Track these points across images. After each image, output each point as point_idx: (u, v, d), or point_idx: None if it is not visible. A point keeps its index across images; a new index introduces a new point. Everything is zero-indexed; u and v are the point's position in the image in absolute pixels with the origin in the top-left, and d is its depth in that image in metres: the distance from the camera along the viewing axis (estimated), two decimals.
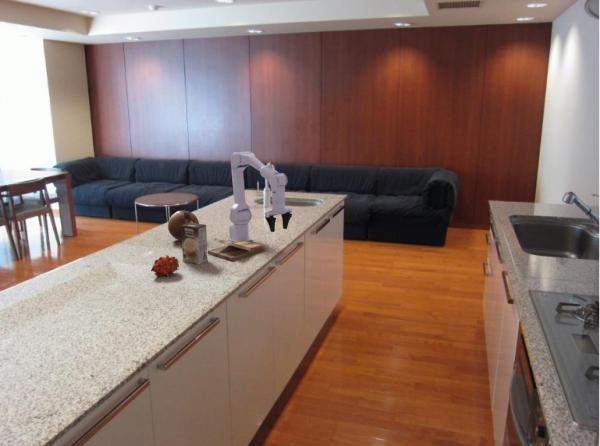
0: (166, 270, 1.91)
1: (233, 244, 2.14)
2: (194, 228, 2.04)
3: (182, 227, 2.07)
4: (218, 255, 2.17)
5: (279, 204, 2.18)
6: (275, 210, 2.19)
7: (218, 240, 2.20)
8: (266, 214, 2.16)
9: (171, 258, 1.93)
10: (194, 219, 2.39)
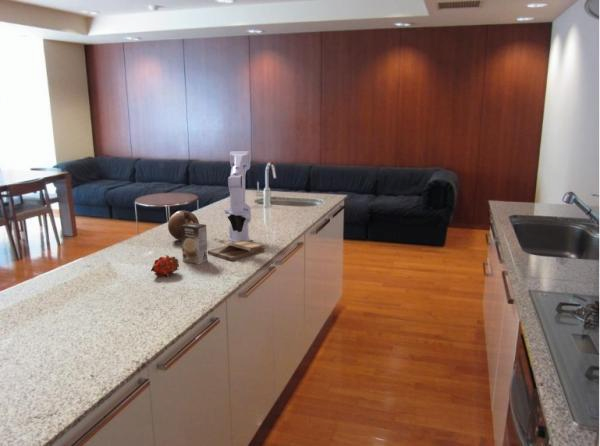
0: (166, 270, 1.91)
1: (233, 244, 2.14)
2: (194, 228, 2.04)
3: (182, 227, 2.07)
4: (218, 255, 2.17)
5: (230, 204, 2.20)
6: None
7: (218, 240, 2.20)
8: None
9: (171, 258, 1.93)
10: (194, 219, 2.39)
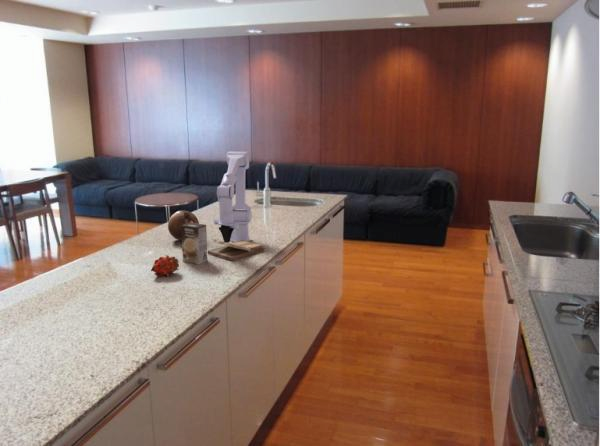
0: (166, 270, 1.91)
1: (233, 245, 2.14)
2: (194, 228, 2.04)
3: (182, 227, 2.07)
4: (218, 255, 2.17)
5: None
6: None
7: (218, 241, 2.20)
8: None
9: (171, 258, 1.93)
10: (194, 219, 2.39)
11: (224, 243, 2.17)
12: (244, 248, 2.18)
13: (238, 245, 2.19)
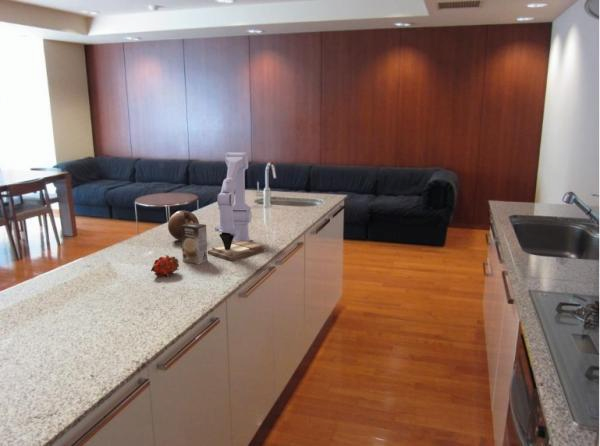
0: (166, 270, 1.91)
1: (231, 254, 2.14)
2: (194, 228, 2.04)
3: (182, 227, 2.07)
4: (218, 255, 2.17)
5: (220, 222, 2.16)
6: None
7: (216, 250, 2.20)
8: None
9: (171, 258, 1.93)
10: (194, 219, 2.39)
11: (223, 251, 2.17)
12: (243, 251, 2.18)
13: (237, 249, 2.18)
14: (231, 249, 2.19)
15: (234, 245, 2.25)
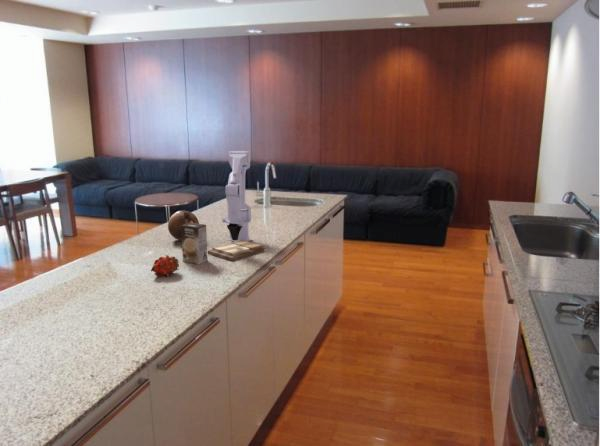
0: (166, 270, 1.91)
1: (231, 254, 2.14)
2: (194, 228, 2.04)
3: (182, 227, 2.07)
4: (218, 255, 2.17)
5: None
6: None
7: (216, 250, 2.20)
8: None
9: (171, 258, 1.93)
10: (194, 219, 2.39)
11: (223, 251, 2.17)
12: (243, 251, 2.18)
13: (237, 249, 2.18)
14: (231, 249, 2.19)
15: (234, 245, 2.25)
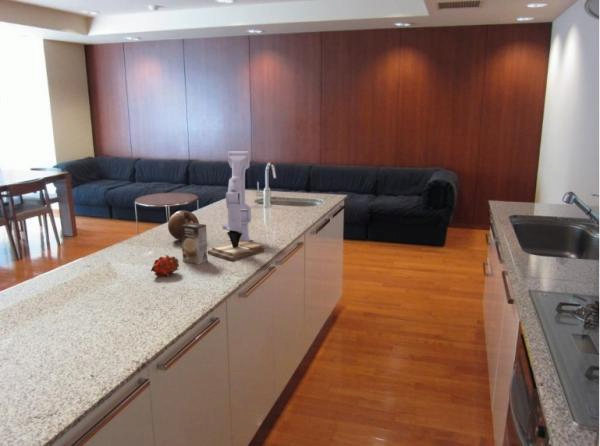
0: (166, 270, 1.91)
1: (231, 254, 2.14)
2: (194, 228, 2.04)
3: (182, 227, 2.07)
4: (218, 255, 2.17)
5: (228, 220, 2.19)
6: None
7: (216, 250, 2.20)
8: None
9: (171, 258, 1.93)
10: (194, 219, 2.39)
11: (223, 251, 2.17)
12: (243, 251, 2.18)
13: (237, 249, 2.18)
14: (231, 249, 2.19)
15: None
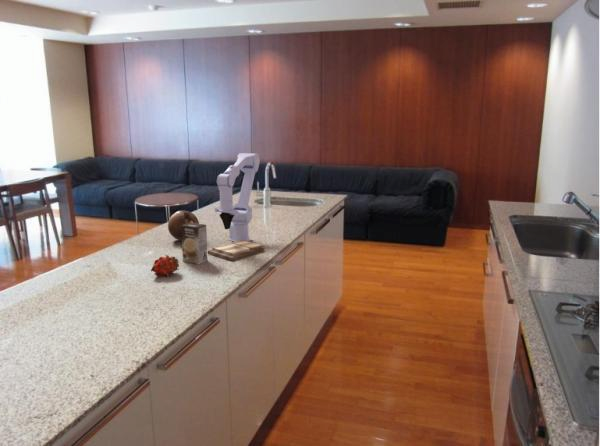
0: (166, 270, 1.91)
1: (231, 254, 2.14)
2: (194, 228, 2.04)
3: (182, 227, 2.07)
4: (218, 255, 2.17)
5: (220, 202, 2.25)
6: None
7: (216, 250, 2.20)
8: None
9: (171, 258, 1.93)
10: (194, 219, 2.39)
11: (223, 251, 2.17)
12: (243, 251, 2.18)
13: (237, 249, 2.18)
14: (231, 249, 2.19)
15: (234, 245, 2.25)
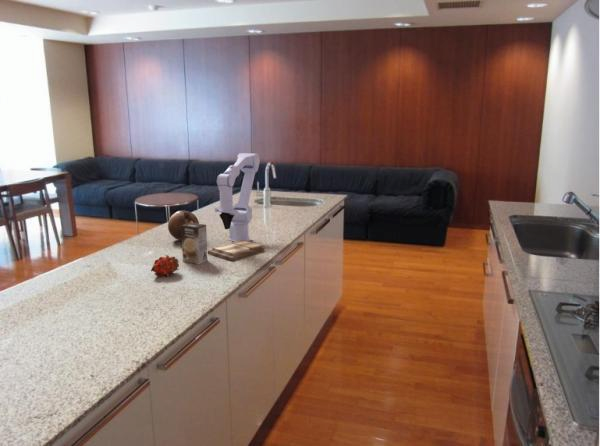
0: (166, 270, 1.91)
1: (231, 254, 2.14)
2: (194, 228, 2.04)
3: (182, 227, 2.07)
4: (218, 255, 2.17)
5: (220, 202, 2.25)
6: None
7: (216, 250, 2.20)
8: None
9: (171, 258, 1.93)
10: (194, 219, 2.39)
11: (223, 251, 2.17)
12: (243, 251, 2.18)
13: (237, 249, 2.18)
14: (231, 249, 2.19)
15: (234, 245, 2.25)
